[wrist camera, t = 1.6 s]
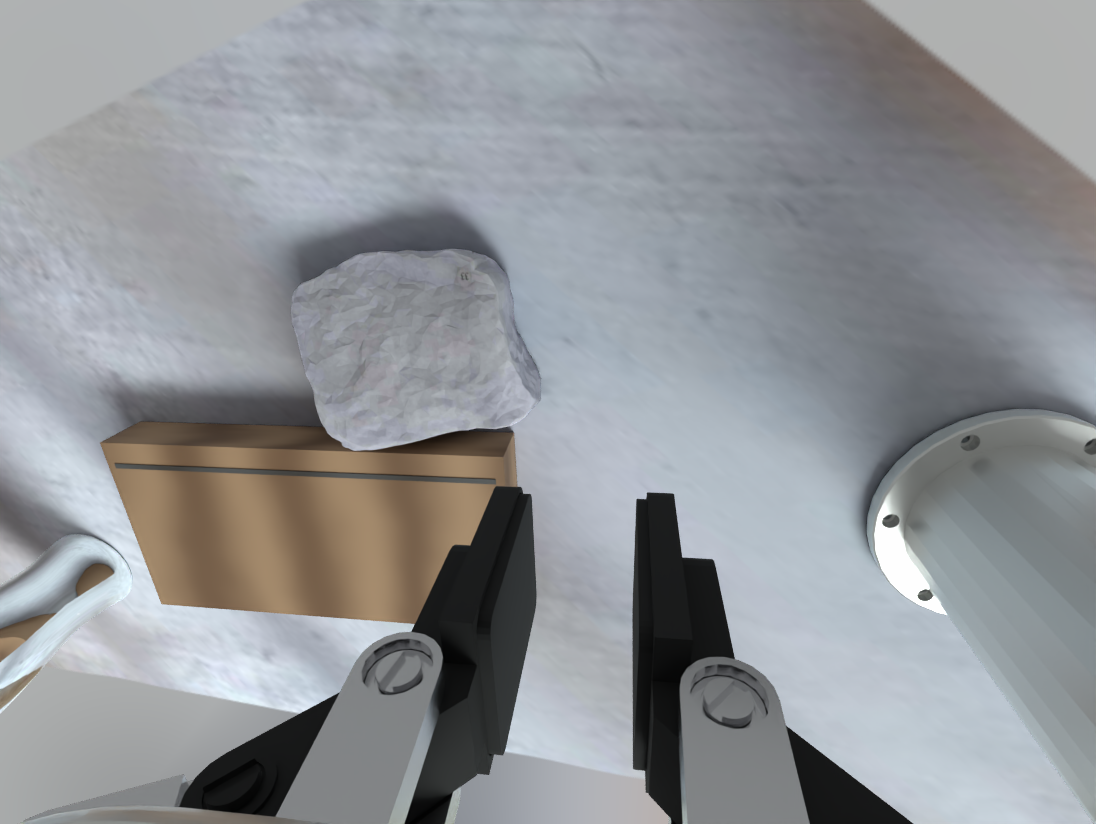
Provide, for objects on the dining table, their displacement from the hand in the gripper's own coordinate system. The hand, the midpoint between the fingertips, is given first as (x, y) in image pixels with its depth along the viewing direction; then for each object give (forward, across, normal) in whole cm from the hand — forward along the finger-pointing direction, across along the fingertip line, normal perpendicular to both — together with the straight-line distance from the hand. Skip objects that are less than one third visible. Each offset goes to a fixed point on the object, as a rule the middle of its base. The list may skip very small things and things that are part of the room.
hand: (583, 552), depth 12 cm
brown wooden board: (+19, +18, +12) cm, 29 cm away
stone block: (+20, +10, +1) cm, 22 cm away
